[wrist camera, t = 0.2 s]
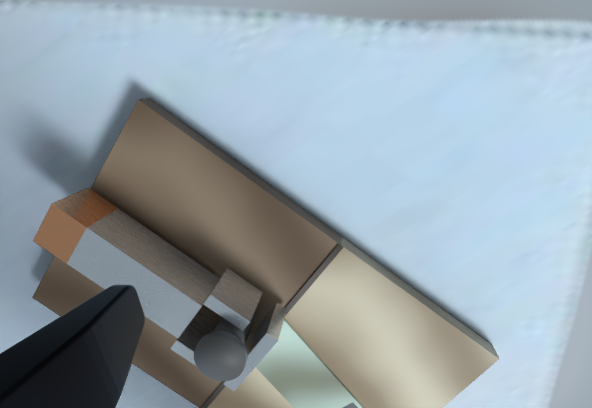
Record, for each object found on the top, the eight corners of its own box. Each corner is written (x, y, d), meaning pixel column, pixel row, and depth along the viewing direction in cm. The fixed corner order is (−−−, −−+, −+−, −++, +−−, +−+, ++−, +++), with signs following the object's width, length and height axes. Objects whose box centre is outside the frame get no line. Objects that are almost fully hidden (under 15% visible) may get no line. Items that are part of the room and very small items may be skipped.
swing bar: (286, 309, 24) (278, 340, 21) (247, 356, 25) (234, 391, 22) (94, 175, 23) (58, 190, 20) (64, 231, 24) (26, 253, 21)
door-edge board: (337, 481, 29) (333, 570, 24) (45, 288, 27) (-27, 339, 22) (492, 345, 24) (529, 420, 19) (149, 98, 22) (87, 107, 17)
